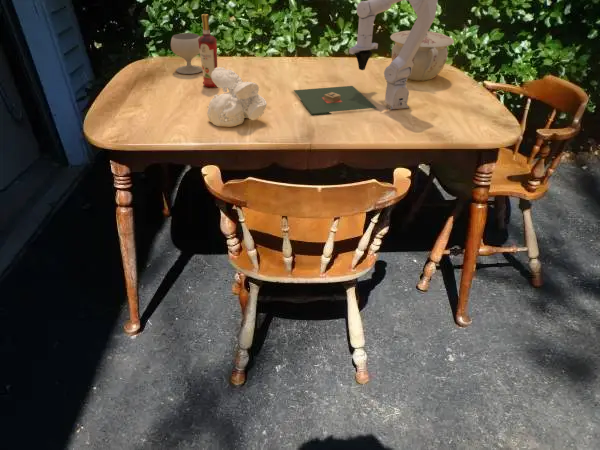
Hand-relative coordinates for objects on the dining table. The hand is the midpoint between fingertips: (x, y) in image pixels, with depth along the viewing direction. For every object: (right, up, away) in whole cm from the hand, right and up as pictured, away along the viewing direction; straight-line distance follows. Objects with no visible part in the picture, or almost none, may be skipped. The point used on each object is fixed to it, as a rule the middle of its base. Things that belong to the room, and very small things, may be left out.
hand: (361, 69), depth 192 cm
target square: (-12, -14, -4) cm, 19 cm away
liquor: (-63, -4, +8) cm, 63 cm away
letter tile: (-12, -14, -5) cm, 19 cm away
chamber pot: (+28, +5, +24) cm, 37 cm away
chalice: (-76, +7, +25) cm, 80 cm away
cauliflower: (-47, -25, -21) cm, 58 cm away
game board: (-12, -14, -3) cm, 18 cm away
